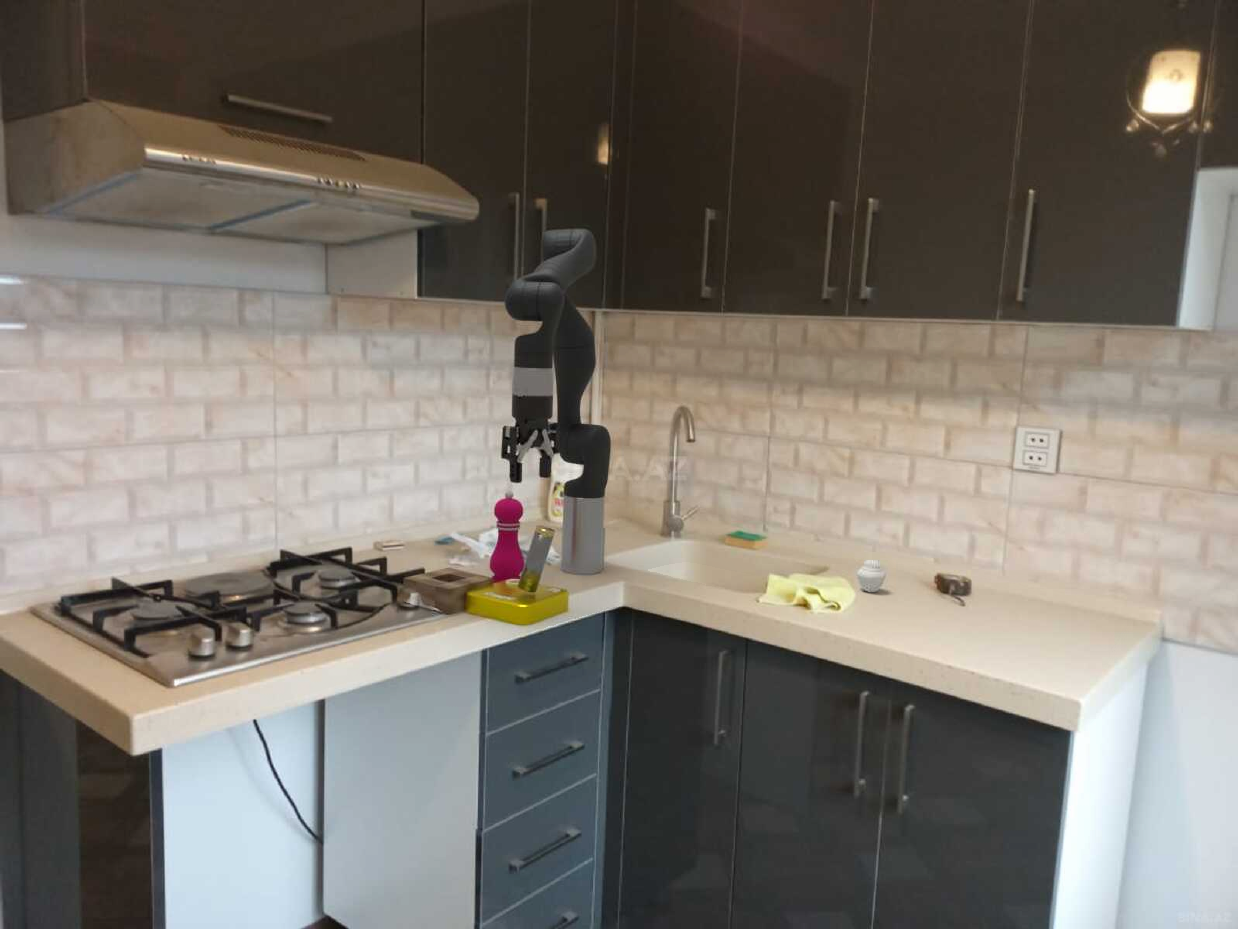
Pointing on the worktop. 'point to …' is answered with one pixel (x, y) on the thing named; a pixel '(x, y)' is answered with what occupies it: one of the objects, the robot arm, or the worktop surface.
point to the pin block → (446, 588)
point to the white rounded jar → (871, 576)
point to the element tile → (516, 602)
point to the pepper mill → (507, 540)
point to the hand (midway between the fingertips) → (530, 479)
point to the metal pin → (536, 559)
